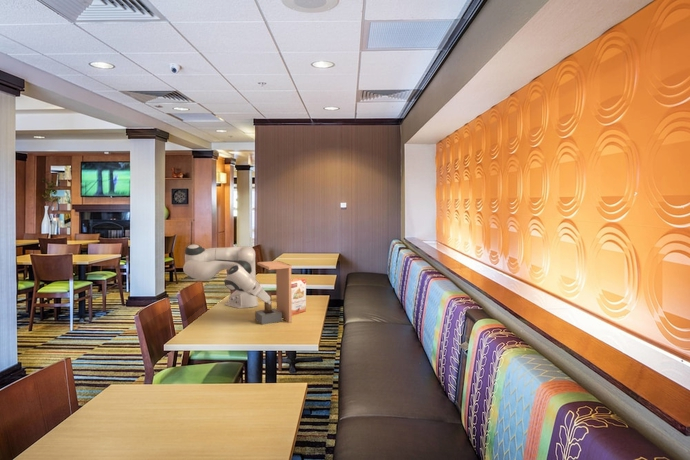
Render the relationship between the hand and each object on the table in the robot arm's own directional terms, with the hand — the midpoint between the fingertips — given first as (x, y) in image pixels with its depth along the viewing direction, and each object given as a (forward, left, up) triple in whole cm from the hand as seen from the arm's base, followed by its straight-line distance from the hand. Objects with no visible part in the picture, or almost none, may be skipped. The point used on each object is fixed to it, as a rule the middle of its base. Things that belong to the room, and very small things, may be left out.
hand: (269, 302), depth 243 cm
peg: (0, -1, -7) cm, 7 cm away
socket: (0, 0, -11) cm, 11 cm away
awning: (+2, +3, -11) cm, 11 cm away
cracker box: (+4, +21, -11) cm, 24 cm away
